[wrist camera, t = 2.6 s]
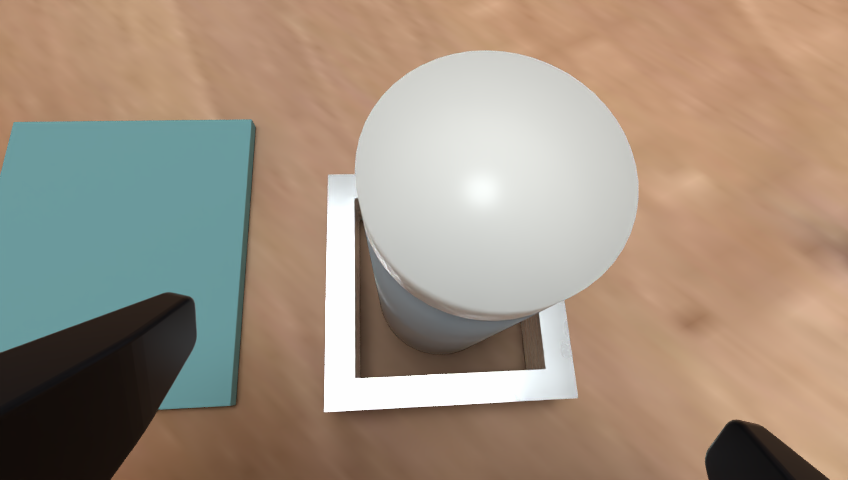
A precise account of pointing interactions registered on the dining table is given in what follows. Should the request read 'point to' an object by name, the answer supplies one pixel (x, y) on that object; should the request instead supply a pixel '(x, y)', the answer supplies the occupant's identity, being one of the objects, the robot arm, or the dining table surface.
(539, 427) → the dining table surface
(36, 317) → the mat
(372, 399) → the collar
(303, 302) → the dining table surface
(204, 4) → the dining table surface
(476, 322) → the ball
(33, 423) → the robot arm
